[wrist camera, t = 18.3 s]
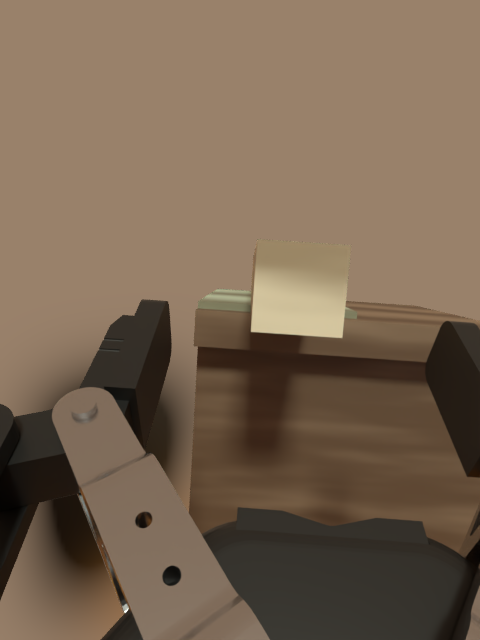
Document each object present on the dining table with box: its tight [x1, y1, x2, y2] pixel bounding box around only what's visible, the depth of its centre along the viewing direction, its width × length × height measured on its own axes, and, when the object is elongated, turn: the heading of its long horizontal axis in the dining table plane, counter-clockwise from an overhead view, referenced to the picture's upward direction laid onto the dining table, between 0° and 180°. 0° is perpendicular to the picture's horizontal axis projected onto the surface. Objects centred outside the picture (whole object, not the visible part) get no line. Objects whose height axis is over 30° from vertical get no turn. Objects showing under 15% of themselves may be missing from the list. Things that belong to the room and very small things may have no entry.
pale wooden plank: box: [251, 239, 351, 338], centre depth 26 cm, size 24×3×3 cm, turn 178°
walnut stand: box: [189, 289, 480, 553], centre depth 33 cm, size 16×18×32 cm
